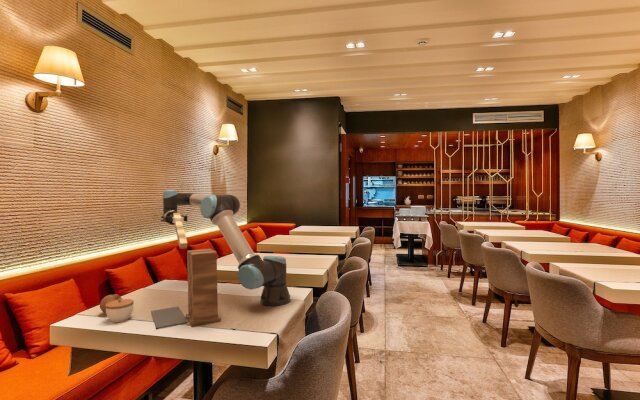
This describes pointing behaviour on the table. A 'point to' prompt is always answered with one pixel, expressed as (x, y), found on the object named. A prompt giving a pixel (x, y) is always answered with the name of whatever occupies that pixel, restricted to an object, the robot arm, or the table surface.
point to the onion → (107, 300)
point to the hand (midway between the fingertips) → (178, 220)
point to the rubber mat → (168, 317)
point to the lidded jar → (119, 309)
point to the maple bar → (180, 231)
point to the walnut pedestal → (202, 287)
